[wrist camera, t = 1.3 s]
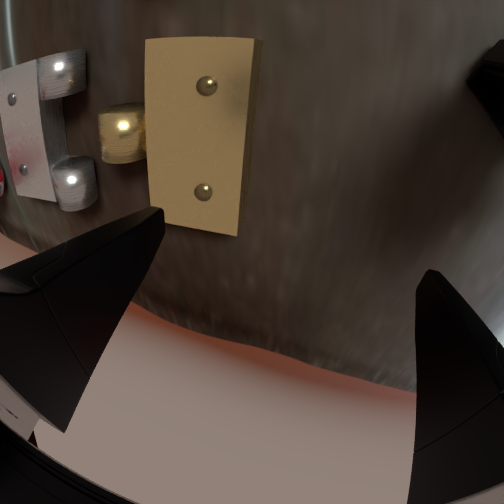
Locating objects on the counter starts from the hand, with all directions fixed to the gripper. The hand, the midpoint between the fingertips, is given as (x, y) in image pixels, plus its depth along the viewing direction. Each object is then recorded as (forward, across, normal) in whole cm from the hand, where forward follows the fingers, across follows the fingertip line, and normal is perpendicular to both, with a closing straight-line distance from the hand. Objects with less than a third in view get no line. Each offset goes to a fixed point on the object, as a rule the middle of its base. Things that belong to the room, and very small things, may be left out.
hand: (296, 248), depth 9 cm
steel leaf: (+12, +22, +1) cm, 25 cm away
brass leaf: (+12, +9, +1) cm, 15 cm away
